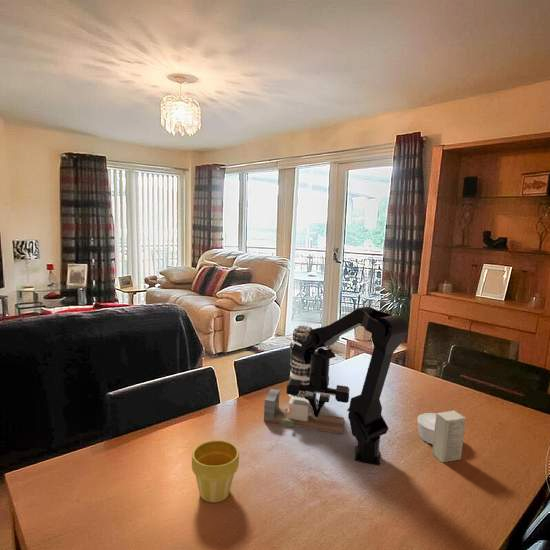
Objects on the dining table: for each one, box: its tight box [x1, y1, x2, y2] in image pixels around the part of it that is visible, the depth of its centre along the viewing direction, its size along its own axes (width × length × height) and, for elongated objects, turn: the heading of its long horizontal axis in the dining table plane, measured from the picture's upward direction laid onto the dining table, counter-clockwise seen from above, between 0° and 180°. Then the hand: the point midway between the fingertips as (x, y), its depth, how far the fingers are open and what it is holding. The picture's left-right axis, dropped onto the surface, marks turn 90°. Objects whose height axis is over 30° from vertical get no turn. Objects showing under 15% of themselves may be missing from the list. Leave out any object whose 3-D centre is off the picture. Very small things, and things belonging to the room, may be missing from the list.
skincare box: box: [431, 409, 467, 463], centre depth 103 cm, size 6×4×12 cm
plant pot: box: [191, 439, 240, 504], centre depth 86 cm, size 10×10×10 cm
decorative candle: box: [287, 325, 313, 399], centre depth 134 cm, size 9×9×25 cm
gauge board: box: [263, 388, 345, 435], centre depth 118 cm, size 9×24×7 cm, turn 77°
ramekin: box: [416, 412, 437, 446], centre depth 112 cm, size 11×11×5 cm
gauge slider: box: [287, 396, 311, 422], centre depth 117 cm, size 8×6×5 cm
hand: (316, 416), depth 118 cm, fingers closed
